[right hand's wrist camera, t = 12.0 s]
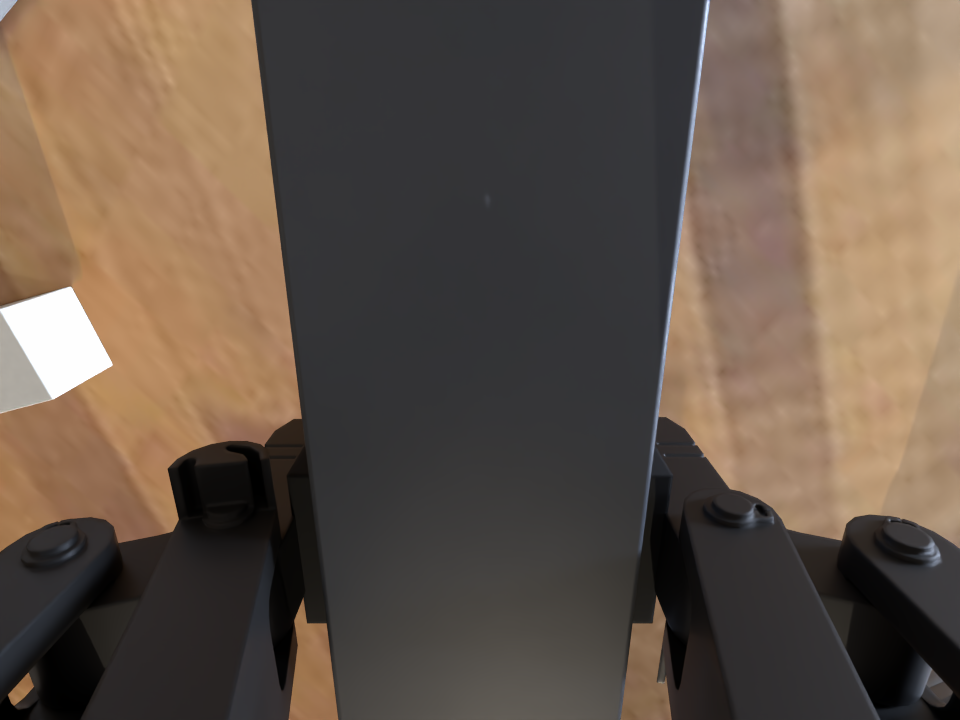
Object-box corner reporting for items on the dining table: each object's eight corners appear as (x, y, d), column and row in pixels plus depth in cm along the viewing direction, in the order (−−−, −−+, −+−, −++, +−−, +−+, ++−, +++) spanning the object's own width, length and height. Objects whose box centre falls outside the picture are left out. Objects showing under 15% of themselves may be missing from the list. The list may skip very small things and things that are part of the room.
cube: (71, 285, 25) (-1, 308, 21) (113, 365, 27) (53, 399, 23) (-7, 307, 26) (-91, 334, 22) (39, 384, 27) (-32, 422, 23)
